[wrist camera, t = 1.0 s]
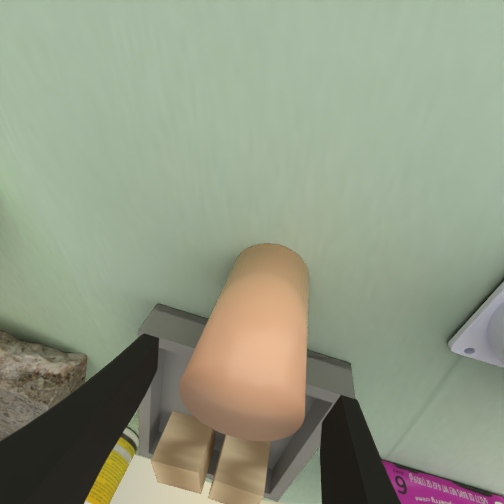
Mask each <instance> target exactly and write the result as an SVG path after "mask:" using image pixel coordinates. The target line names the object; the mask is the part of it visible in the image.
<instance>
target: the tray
mask: <svg viewBox="0 0 504 504" xmlns="http://www.w3.org/2000/svg"><path fill="white" fill-rule="evenodd" d="M208 320H209V319H206V318H203V317H199V316H196V315H193V314H190V313H187V312H183V311H180V310H177V309H174V308H171V307H167V306H164V305H161V304H157V305H156V306H155V308H154V309H153V311H152V312H151V313H150V315H149V316H148V317H147V319H146V320H145V322H144V323H143V324H142V326H141V327H140V328H139V330H138V337H139V336H140V335H142V334H144V333H145V334H148V335H151V336H155V337H158V338H159V350H158V369H157V372H156V374H155V376H154V378H153V380H152V382H151V385H150V387H149V389H148V391H147V393H146V395H145V397H144V398H143V400H142V402H141V403H140V405H139V455H142V456H145V457H148V458H151V459H152V457H153V454H154V452H155V450H156V448H157V445H158V443H159V441H160V439H161V436H162V434H163V432H164V429H165V427H166V425H167V423H168V420H169V418H170V416H171V414H172V411H173V412H177V413H181V414H186V415H190V416H193V415H192V414H191V413H190V412H189V411H188V409H187V408H186V407H185V405H184V404H183V402H182V400H181V398H180V394H179V383H180V380H181V378H182V376H183V374H184V372H185V369H186V367H187V365H188V363H189V361H190V359H191V356H192V354H193V352H194V350H195V348H196V346H197V343H198V341H199V339H200V337H201V335H202V333H203V330H204V328H205V326H206V324H207V322H208ZM340 395H343V396H347V397H350V398H353V399H355V393H354V385H353V377H352V369H351V363H348V362H344V361H341V360H338V359H335V358H332V357H328V356H325V355H322V354H319V353H315V352H312V351H309V350H307V361H306V391H305V417H304V422H303V424H302V426H301V427H300V428H299V430H297V431H296V432H295V433H294V434H292V435H290V436H288V437H286V438H283V439H279V440H273V441H270V442H271V443H270V451H269V459H268V466H267V474H266V482H265V490H264V497H265V498H268V499H271V500H274V501H277V502H278V500H279V499H280V498H281V496H282V495H283V494H284V492H285V491H286V490H287V489H288V487H289V486H290V485H291V483H292V482H293V481H294V479H295V478H296V477H297V475H298V474H299V473H300V471H301V470H302V469H303V467H304V466H305V465H306V464H307V462H308V461H309V460H310V458H311V457H312V456H313V454H314V453H315V452H316V450H317V449H318V448H319V446H320V444H321V428H322V421H323V420H324V418H325V417H326V416H327V414H328V413H329V411H330V410H331V408H332V407H333V405H334V404H335V403H336V401H337V400H338V398H339V397H340ZM225 435H226V434H223V433H220V432H218V431H216V430H215V446H214V450H213V453H212V457H211V460H210V464H209V467H208V471H207V474H206V477H207V478H209V479H212V480H213V477H214V473H215V470H216V466H217V462H218V458H219V454H220V451H221V447H222V444H223V441H224V438H225Z"/></svg>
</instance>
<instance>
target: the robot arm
mask: <svg viewBox="0 0 504 504" xmlns="http://www.w3.org/2000/svg"><path fill="white" fill-rule="evenodd" d="M448 346H449V348H450V350H451V351H452V352H454V353H456V354H460V355H463V356H466V357H470V358H473V359H476V360H479V361H483V362H486V363H489V364H493V365H496V366H499V367H503V368H504V281H503V283H502V284H501V285H500V286H499V287H498V288H497V289H496V290H495V291H494V292H493V294H492V295H491V296H490V297H489V298H488V299H487V300H486V301H485V302H484V304H483V305H482V306H481V307H480V308H479V309H478V310H477V311H476V312H475V313H474V315H473V316H472V317H471V318H470V319H469V320H468V321H467V322H466V323H465V324H464V326H463V327H462V328H461V329H460V330H459V331H458V332H457V333H456V334H455V335H454V337H453V338H452V339H451V340H450V341H449V343H448ZM466 348H467V349H466ZM158 350H159V338H158V337H155V336H151V335H148V334H145V333H144V334H142V335H140V336H139V337H138V338H137V339H136V340H135V341H134V342H133V343H132V344H131V345H130V346H129V347H127V348H126V349H125V350H124V351H123V352H122V353H121V354H120V355H118V356H117V357H116V358H115V359H114V360H113V361H111V362H110V363H109V364H108V365H107V366H105V367H104V368H103V369H102V370H100V371H99V372H98V373H97V374H96V375H94V376H93V377H92V378H91V379H89V380H88V381H87V382H86V383H84V384H83V385H82V386H80V387H79V388H78V389H76V390H75V391H74V392H72V393H71V394H70V395H68V396H67V397H66V398H64V399H63V400H61V401H60V402H59V403H57V404H56V405H54V406H53V407H52V408H50V409H49V410H47V411H46V412H44V413H43V414H41V415H40V416H38V417H37V418H35V419H34V420H33V421H31V422H30V423H28V424H26V425H25V426H23V427H22V428H20V429H19V430H17V431H15V432H14V433H12V434H11V435H9V436H7V437H6V438H4V439H3V440H1V441H0V504H84V502H85V500H86V498H87V496H88V494H89V493H90V491H91V489H92V487H93V485H94V483H95V481H96V479H97V477H98V475H99V473H100V471H101V469H102V467H103V465H104V464H105V462H106V460H107V458H108V457H109V455H110V453H111V452H112V450H113V448H114V447H115V445H116V443H117V442H118V440H119V438H120V437H121V435H122V433H123V432H124V430H125V428H126V427H127V425H128V423H129V422H130V420H131V418H132V417H133V415H134V413H135V412H136V410H137V408H138V407H139V405H140V403H141V402H142V400H143V398H144V397H145V395H146V393H147V391H148V389H149V387H150V385H151V382H152V380H153V378H154V376H155V374H156V372H157V369H158ZM320 465H321V489H322V504H401V502H400V500H399V498H398V496H397V493H396V491H395V489H394V487H393V485H392V483H391V480H390V478H389V476H388V474H387V471H386V469H385V467H384V464H383V462H382V460H381V458H380V455H379V453H378V450H377V448H376V446H375V443H374V441H373V438H372V436H371V433H370V431H369V428H368V426H367V423H366V421H365V418H364V415H363V413H362V410H361V408H360V405H359V402H358V401H357V400H356V399H353V398H350V397H347V396H343V395H340V397H339V398H338V400H337V401H336V403H335V404H334V405H333V407H332V408H331V410H330V411H329V413H328V414H327V416H326V417H325V418H324V420H323V421H322V428H321V444H320Z"/></svg>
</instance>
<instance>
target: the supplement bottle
mask: <svg viewBox="0 0 504 504" xmlns="http://www.w3.org/2000/svg"><path fill="white" fill-rule="evenodd" d="M138 446H139V439H138V437H137V435H136V434H135V433H134V432H133V431H132V430H130V429H129V428H127V427H126V428H125V430H124V432H123V433H122V435H121V437H120V438H119V440H118V442H117V443H116V445H115V447H114V448H113V450H112V452H111V453H110V455H109V457H108V458H107V460H106V462H105V464H104V465H103V467H102V469H101V471H100V473H99V475H98V477H97V479H96V481H95V483H94V485H93V487H92V489H91V491H90V493H89V494H88V496H87V498H86V500H85V502H84V504H109V503H110V501H111V499H112V497H113V495H114V493H115V491H116V489H117V487H118V485H119V483H120V482H121V480H122V478H123V476H124V474H125V472H126V470H127V468H128V466H129V464H130V462H131V460H132V458H133V456H134V454H135V452H136V450H137V448H138Z"/></svg>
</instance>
